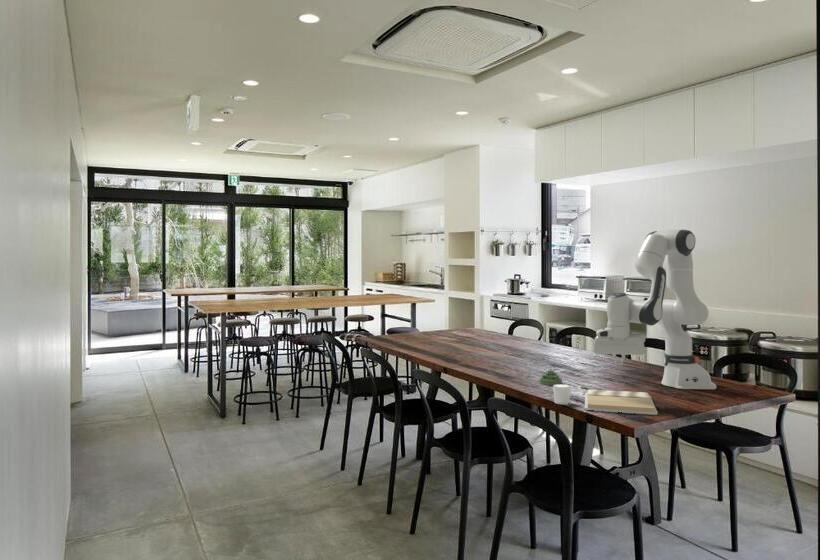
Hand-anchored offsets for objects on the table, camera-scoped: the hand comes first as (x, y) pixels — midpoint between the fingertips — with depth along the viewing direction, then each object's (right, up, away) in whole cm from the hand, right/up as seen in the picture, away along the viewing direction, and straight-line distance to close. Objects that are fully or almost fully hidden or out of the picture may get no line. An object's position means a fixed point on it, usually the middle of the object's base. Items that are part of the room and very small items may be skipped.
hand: (618, 364), depth 241 cm
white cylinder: (-25, -15, -6) cm, 30 cm away
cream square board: (-4, -14, -10) cm, 18 cm away
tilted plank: (-1, -13, -3) cm, 13 cm away
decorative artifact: (-21, -14, +30) cm, 39 cm away
